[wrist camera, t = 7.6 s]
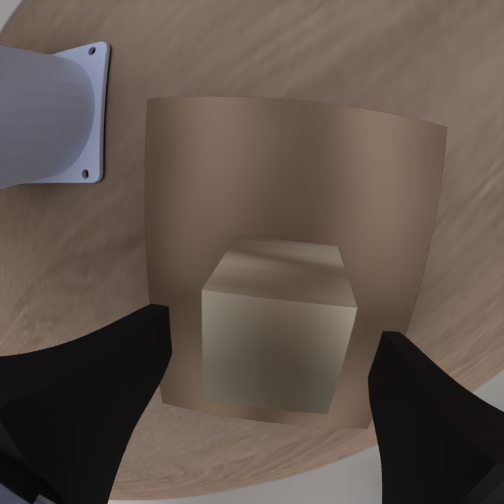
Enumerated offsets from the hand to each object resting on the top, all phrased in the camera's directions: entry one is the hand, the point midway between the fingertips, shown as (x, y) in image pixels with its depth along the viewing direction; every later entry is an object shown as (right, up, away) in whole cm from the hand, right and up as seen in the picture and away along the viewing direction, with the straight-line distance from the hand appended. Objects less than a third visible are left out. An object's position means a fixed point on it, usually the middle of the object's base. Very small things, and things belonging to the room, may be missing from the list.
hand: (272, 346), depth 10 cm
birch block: (+1, +2, +3) cm, 4 cm away
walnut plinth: (+1, +2, +6) cm, 7 cm away
